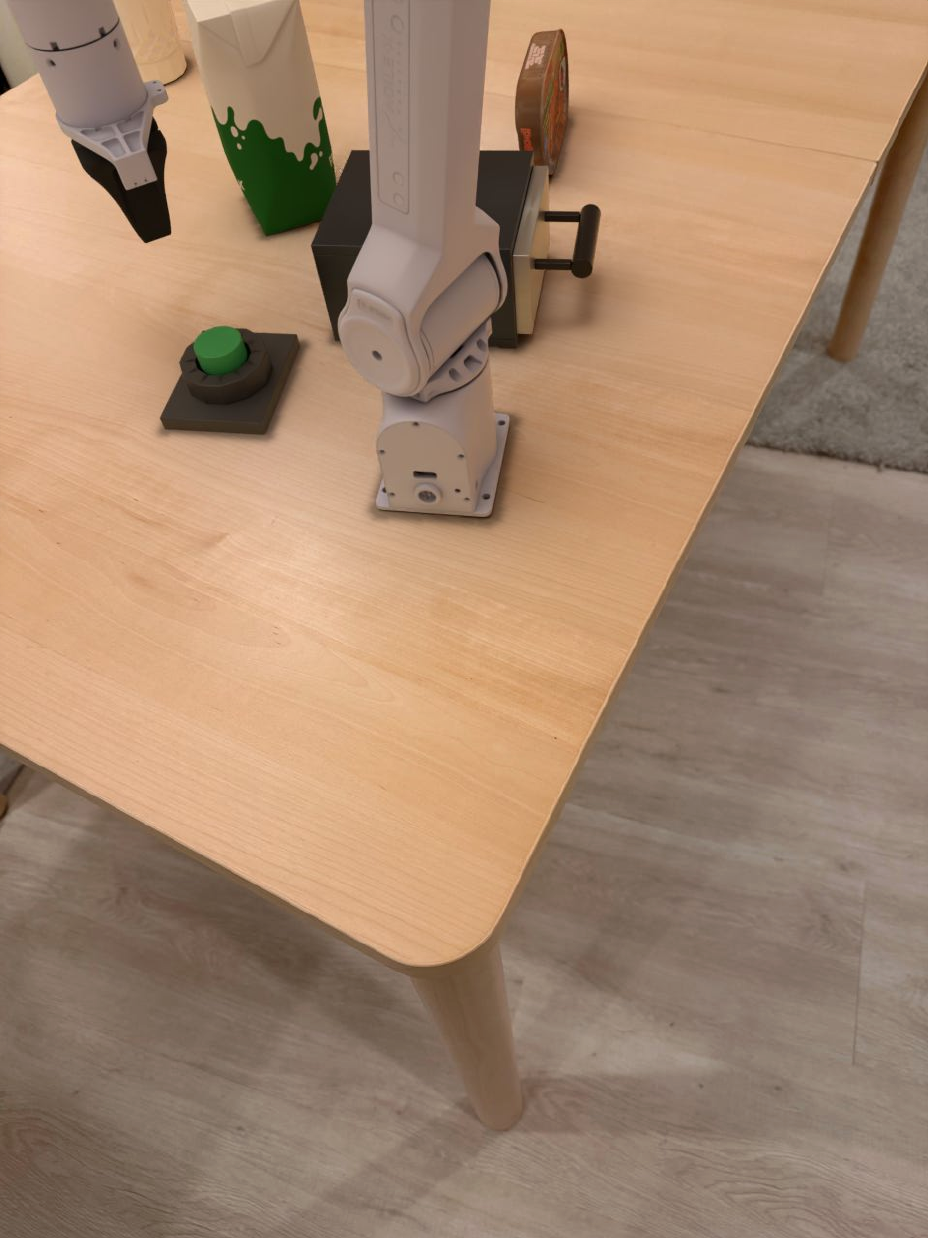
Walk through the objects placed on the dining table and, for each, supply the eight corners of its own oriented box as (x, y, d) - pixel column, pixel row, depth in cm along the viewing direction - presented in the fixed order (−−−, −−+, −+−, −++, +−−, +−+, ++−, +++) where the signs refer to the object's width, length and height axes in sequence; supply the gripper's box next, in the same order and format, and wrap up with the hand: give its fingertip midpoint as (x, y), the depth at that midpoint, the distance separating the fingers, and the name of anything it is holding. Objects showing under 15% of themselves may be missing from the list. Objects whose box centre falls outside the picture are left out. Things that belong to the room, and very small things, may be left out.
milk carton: (353, 216, 84) (300, -38, 67) (257, 245, 82) (178, -6, 66) (327, 169, 88) (271, -78, 72) (235, 196, 87) (158, -49, 71)
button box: (264, 435, 69) (253, 405, 66) (165, 429, 70) (150, 399, 68) (300, 345, 74) (291, 314, 72) (207, 342, 75) (194, 311, 73)
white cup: (109, 88, 102) (68, -14, 94) (142, 53, 106) (107, -48, 98) (172, 92, 100) (136, -12, 92) (204, 56, 104) (172, -46, 96)
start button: (239, 377, 69) (232, 358, 67) (194, 375, 69) (186, 356, 68) (253, 344, 71) (247, 326, 69) (209, 343, 71) (202, 324, 70)
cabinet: (536, 249, 78) (533, 149, 71) (516, 348, 71) (510, 249, 64) (370, 245, 81) (351, 149, 74) (335, 341, 74) (310, 245, 67)
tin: (548, 193, 83) (546, 97, 76) (514, 192, 83) (509, 96, 76) (571, 105, 91) (571, 10, 84) (540, 105, 91) (537, 11, 84)
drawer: (602, 245, 76) (604, 165, 71) (588, 336, 70) (590, 257, 65) (392, 241, 79) (379, 164, 74) (362, 328, 73) (345, 251, 68)
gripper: (167, 55, 52) (238, 267, 63) (109, -33, 60) (181, 169, 71) (45, 94, 51) (139, 303, 62) (1, -1, 59) (92, 199, 70)
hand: (156, 234), depth 66 cm, fingers closed
